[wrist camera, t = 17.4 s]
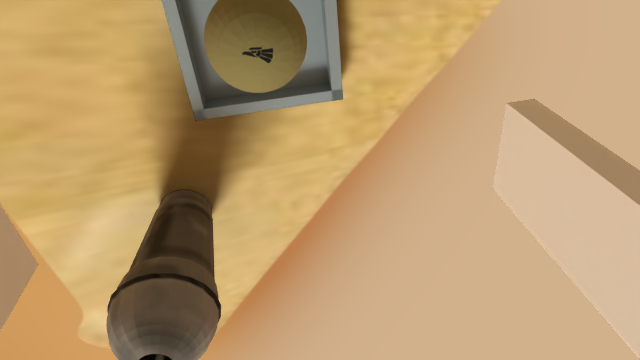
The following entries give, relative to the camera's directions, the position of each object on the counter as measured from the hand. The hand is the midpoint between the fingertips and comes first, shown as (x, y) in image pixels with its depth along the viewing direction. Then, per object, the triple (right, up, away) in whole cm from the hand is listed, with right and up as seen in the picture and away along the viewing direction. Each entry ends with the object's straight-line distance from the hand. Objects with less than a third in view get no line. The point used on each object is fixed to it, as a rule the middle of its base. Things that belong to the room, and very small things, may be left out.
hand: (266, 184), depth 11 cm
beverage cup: (-11, -2, +27) cm, 29 cm away
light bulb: (-3, +12, +18) cm, 22 cm away
